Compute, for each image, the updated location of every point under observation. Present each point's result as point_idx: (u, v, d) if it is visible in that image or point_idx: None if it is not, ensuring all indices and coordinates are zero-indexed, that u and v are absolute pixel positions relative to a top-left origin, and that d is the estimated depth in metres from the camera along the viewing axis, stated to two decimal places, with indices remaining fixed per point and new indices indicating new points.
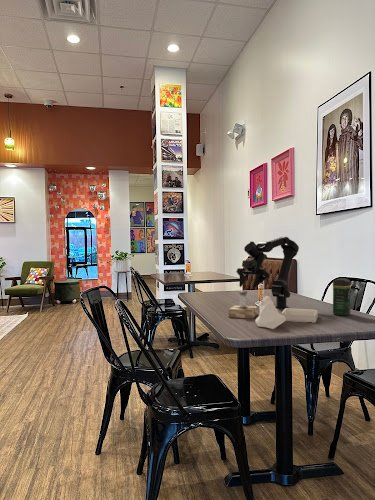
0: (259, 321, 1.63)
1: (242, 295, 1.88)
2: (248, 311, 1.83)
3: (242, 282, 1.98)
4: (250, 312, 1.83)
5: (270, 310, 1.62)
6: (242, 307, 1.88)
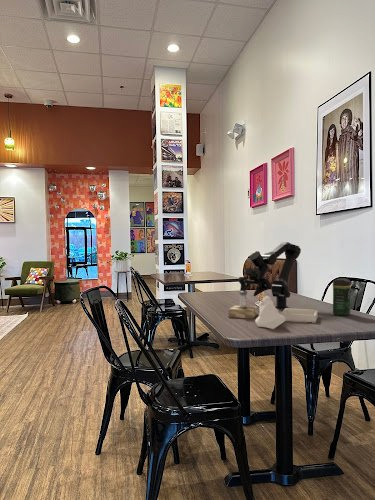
0: (259, 321, 1.63)
1: (242, 295, 1.88)
2: (248, 311, 1.83)
3: (243, 290, 1.97)
4: (250, 312, 1.83)
5: (270, 310, 1.62)
6: (242, 307, 1.88)
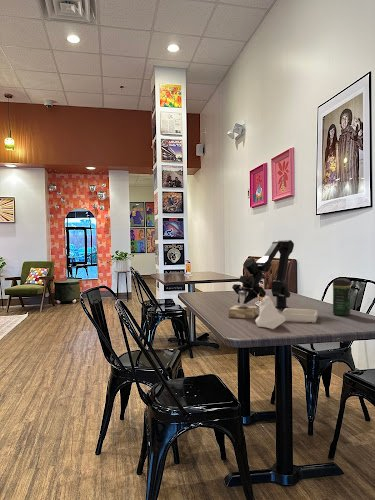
0: (259, 321, 1.63)
1: (242, 295, 1.88)
2: (248, 311, 1.83)
3: None
4: (250, 312, 1.83)
5: (270, 310, 1.62)
6: (242, 307, 1.88)
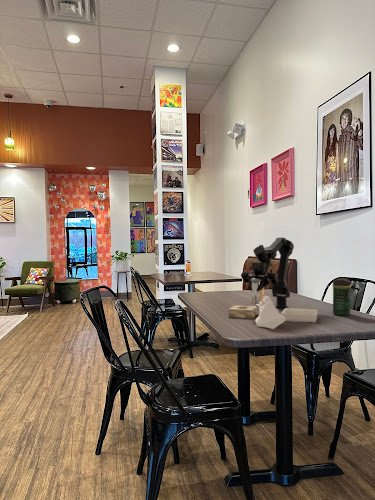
0: (259, 321, 1.63)
1: (255, 282, 1.83)
2: (248, 311, 1.83)
3: None
4: (250, 312, 1.83)
5: (270, 310, 1.62)
6: (255, 295, 1.83)
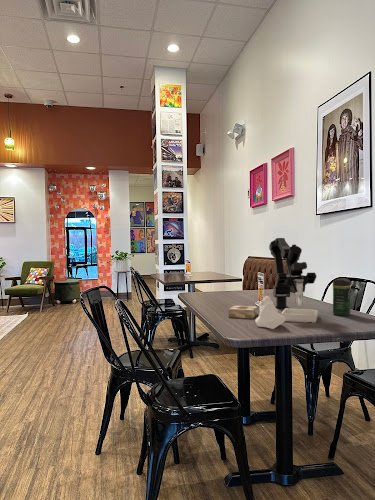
0: (259, 321, 1.63)
1: (302, 283, 1.78)
2: (248, 311, 1.83)
3: None
4: (250, 312, 1.83)
5: (270, 310, 1.62)
6: (302, 296, 1.78)
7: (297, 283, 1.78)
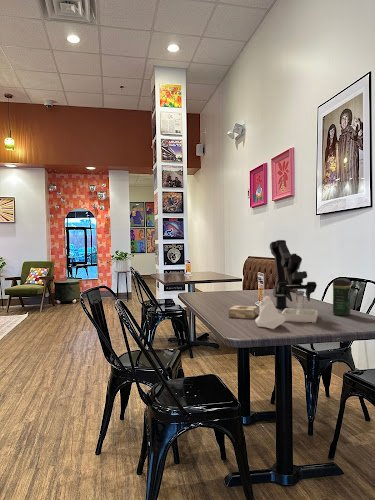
0: (259, 321, 1.63)
1: (302, 295, 1.78)
2: (248, 311, 1.83)
3: None
4: (250, 312, 1.83)
5: (270, 310, 1.62)
6: (302, 308, 1.78)
7: (298, 295, 1.78)
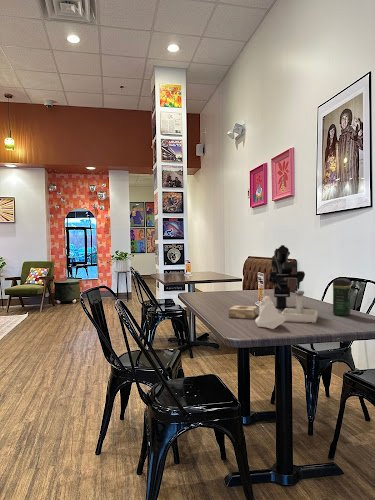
0: (259, 321, 1.63)
1: (302, 295, 1.78)
2: (248, 311, 1.83)
3: None
4: (250, 312, 1.83)
5: (270, 310, 1.62)
6: (302, 308, 1.78)
7: (297, 295, 1.78)
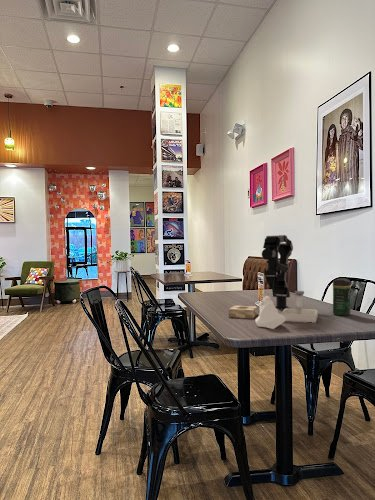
0: (259, 321, 1.63)
1: (302, 295, 1.78)
2: (248, 311, 1.83)
3: None
4: (250, 312, 1.83)
5: (270, 310, 1.62)
6: (302, 308, 1.78)
7: (297, 295, 1.78)
